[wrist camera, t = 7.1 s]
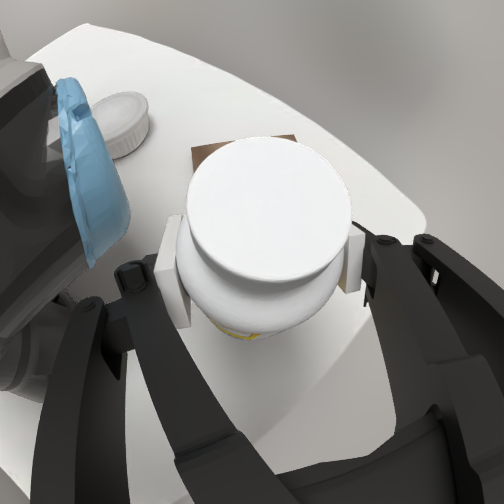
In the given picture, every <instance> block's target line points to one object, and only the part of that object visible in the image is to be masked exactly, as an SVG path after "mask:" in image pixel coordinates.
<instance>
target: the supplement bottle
mask: <svg viewBox="0 0 504 504" xmlns="http://www.w3.org/2000/svg"><path fill="white" fill-rule="evenodd" d="M351 225H352V204H351V199H350V195H349V192H348V190H347V187H346V185H345V183H344V181H343V180H342V178H341V177H340V175H339V174H338V172H337V171H336V170H335V169H334V167H333V166H332V165H331V164H330V163H329V162H328V161H327V160H326V159H325V158H323V157H322V156H321V155H320V154H318V153H317V152H315V151H314V150H312V149H310V148H308V147H306V146H304V145H302V144H300V143H297V142H294V141H291V140H288V139H283V138H277V137H269V136H259V137H249V138H244V139H240V140H236V141H234V142H231V143H229V144H226V145H225V146H223V147H221V148H219V149H217V150H216V151H215V152H213V153H212V154H210V155H209V156H208V157H207V158H206V159H205V160H204V161H203V162H202V163H201V164H200V166H199V167H198V168H197V170H196V171H195V173H194V175H193V177H192V179H191V181H190V184H189V187H188V191H187V196H186V213H185V214H184V216H183V218H182V221H181V223H180V226H179V230H178V233H177V239H176V261H177V267H178V272H179V275H180V278H181V281H182V283H183V285H184V287H185V289H186V291H187V292H188V294H189V296H190V297H191V298H192V300H193V301H194V302H195V304H196V305H197V306H198V307H199V308H200V309H201V310H202V311H203V313H204V314H205V315H206V316H207V317H208V318H209V320H210V321H211V322H212V323H213V324H214V325H215V326H216V327H217V328H218V329H220V330H221V331H222V332H224V333H226V334H228V335H230V336H232V337H234V338H238V339H242V340H259V339H264V338H267V337H270V336H273V335H275V334H277V333H279V332H282V331H284V330H286V329H289V328H292V327H294V326H297V325H299V324H301V323H302V322H304V321H306V320H307V319H309V318H310V317H312V316H313V315H314V314H316V313H317V312H318V311H319V310H320V309H321V308H322V307H323V306H324V305H325V303H326V302H327V301H328V300H329V298H330V297H331V295H332V294H333V292H334V290H335V288H336V286H337V284H338V281H339V279H340V276H341V272H342V267H343V261H344V245H345V243H346V241H347V239H348V236H349V233H350V229H351Z"/></svg>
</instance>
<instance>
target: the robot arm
mask: <svg viewBox="0 0 504 504" xmlns="http://www.w3.org/2000/svg"><path fill="white" fill-rule="evenodd" d="M182 218H183V217H182V214H178V215H173V216H169V218H168V221H167V225H166V228H165V231H164V235H163V238H162V242H161V245H160V249H159V253H157V254H152V255H146V256H145V257H144V258H143V259H142V260H135V261H131V262H128V263H125V264H123V265H121V266H120V267H118V268H117V269H116V270H115V272H114V276H115V279H116V282H117V284H118V287H119V290H120V292H121V295H122V298H121V299H119V300H117V301H114V302H112V303H109V304H106V305H105V304H104V302H103V300H102V299H101V298H100V297H97V296H95V297H89V298H85V299H84V300H81V301H80V302H79V303H78V304H77V305H76V304H75V302H74V301H73V300H72V298H71V297H70V296H69V295H68V294H67V293H66V292H64V291H63V290H64V289H65V288H66V287H67V286H68V285H69V284H70V283H71V282H73V281H74V280H75V279H76V278H77V277H78V276H79V275H80V274H82V273H83V272H84V271H85V270H86V269H87V268H89V269H92V268H93V267H94V266H95V263H96V260H97V259H98V258H100V257H101V256H102V255H103V254H104V253H105V252H106V251H107V250H108V249H109V248H111V247H112V246H113V245H114V244H115V243H116V242H117V241H119V240H120V239H121V238H122V237H123V235H124V234H125V233H126V231H127V229H128V225H129V222H130V207H129V203H128V199H127V196H126V193H125V191H124V188H123V186H122V183H121V180H120V178H119V175H118V173H117V170H116V168H115V165H114V163H113V160H112V158H111V155H110V153H109V150H108V148H107V145H106V143H105V141H104V138H103V136H102V133H101V131H100V129H99V126H98V124H97V122H96V120H95V119H94V118H93V116H92V112H91V109H90V107H89V105H88V102H87V99H86V96H85V93H84V91H83V89H82V87H81V85H80V83H79V82H78V81H77V80H76V79H75V78H72V77H69V78H66V79H59V80H58V81H57V82H56V85H55V86H53V84H52V83H51V81H50V79H49V77H48V75H47V73H46V71H45V69H44V66H43V64H41V63H34V62H26V61H18V60H15V59H13V58H11V55H10V53H9V51H8V49H7V46H6V44H5V41H4V39H3V36H2V34H1V31H0V391H9V392H12V393H14V394H17V395H19V396H22V397H24V398H27V399H29V400H32V401H35V402H39V403H43V407H42V411H41V416H40V421H39V426H38V431H37V437H36V443H35V450H34V457H33V466H32V477H31V492H30V504H130V498H129V489H128V478H127V465H126V445H125V391H126V370H127V355H128V354H127V351H130V350H133V349H135V350H136V354H137V357H138V360H139V364H140V367H141V370H142V373H143V376H144V379H145V382H146V385H147V388H148V391H149V393H150V396H151V399H152V402H153V404H154V407H155V409H156V412H157V415H158V417H159V420H160V422H161V424H162V427H163V429H164V432H165V434H166V436H167V439H168V441H169V443H170V445H171V447H172V450H173V452H174V455H175V459H174V462H175V466H176V468H177V471H178V473H179V475H180V477H181V479H182V481H183V483H184V485H185V487H186V489H187V490H188V492H189V494H190V496H191V497H192V499H193V501H194V503H195V504H504V290H503V289H502V288H501V287H500V286H498V285H497V284H496V283H495V282H494V281H492V280H491V279H490V278H489V277H487V276H486V275H485V274H484V273H483V272H481V271H480V270H479V269H478V268H476V267H475V266H474V265H472V264H471V263H470V262H469V261H468V260H466V259H465V258H464V257H462V256H461V255H460V254H458V253H457V252H456V251H454V250H453V249H451V248H450V247H449V246H447V245H446V244H444V243H443V242H441V241H440V240H439V239H437V238H435V237H434V236H431V235H429V234H419V235H416V236H415V237H414V240H413V245H402V244H401V243H400V241H399V240H398V239H396V238H395V237H392V236H388V235H374V234H373V233H371V232H370V231H368V230H366V228H364V227H362V226H361V225H360V224H358V223H357V222H354V221H352V225H351V229H350V233H349V236H348V239H347V241H346V243H345V245H344V261H343V267H342V272H341V276H340V279H339V281H338V286H339V287H340V288H341V289H342V290H343V292H344V293H345V294H348V293H351V292H355V291H359V290H360V288H361V279H363V280H364V281H365V282H366V290H365V298H364V307H366V303H367V302H368V303H369V307H370V309H371V313H372V316H373V319H374V323H375V326H376V330H377V334H378V337H379V341H380V345H381V348H382V353H383V357H384V361H385V365H386V369H387V373H388V378H389V382H390V387H391V392H392V397H393V402H394V407H395V413H396V427H395V432H394V435H393V436H392V437H391V438H390V439H389V440H387V441H386V442H385V443H384V444H382V445H381V446H380V447H379V448H377V449H376V450H375V451H374V452H372V453H371V454H369V455H367V456H364V457H358V458H352V459H346V460H339V461H331V462H322V463H318V464H314V465H311V466H308V467H304V468H301V469H297V470H293V471H289V472H286V473H282V474H277V475H275V474H274V473H273V472H272V470H271V469H270V468H269V467H268V466H267V464H266V463H265V461H264V460H263V459H262V458H261V456H260V455H259V454H258V452H257V451H256V450H255V448H254V447H253V446H252V444H251V443H250V442H249V440H248V439H247V438H246V436H245V435H244V434H243V433H242V432H241V431H238V430H237V429H236V428H235V426H234V425H233V424H232V422H231V421H230V419H229V418H228V416H227V415H226V413H225V411H224V410H223V408H222V407H221V405H220V404H219V402H218V401H217V399H216V397H215V396H214V394H213V393H212V391H211V389H210V388H209V386H208V385H207V383H206V381H205V380H204V378H203V376H202V375H201V373H200V371H199V369H198V368H197V366H196V364H195V362H194V361H193V359H192V357H191V355H190V354H189V352H188V350H187V348H186V346H185V345H184V343H183V341H182V339H181V337H180V335H179V333H178V332H177V330H176V329H180V328H187V327H191V313H190V296H189V294H188V292H187V291H186V289H185V287H184V285H183V283H182V281H181V278H180V275H179V272H178V267H177V261H176V239H177V233H178V230H179V226H180V223H181V221H182ZM435 270H436V271H437V272H438V273H439V276H438V280H437V283H436V284H434V283H433V282H432V280H433V276H434V272H435Z"/></svg>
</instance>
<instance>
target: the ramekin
mask: <svg viewBox="0 0 504 504" xmlns="http://www.w3.org/2000/svg"><path fill="white" fill-rule="evenodd" d="M90 109H91V112H92V116H93V118H94V119H95V120H96V122H97V124H98V126H99V129H100V131H101V133H102V136H103V138H104V141H105V143H106V145H107V148H108V150H109V153H110V155H111V158H112V159H116V158H120V157H123V156H125V155H127V154H129V153H130V152H132V151H133V150H135V149H136V148H137V147H138V146H139V145H140V144H141V143H142V142H143V140H144V139H145V137H146V135H147V133H148V129H149V120H148V102H147V99H146V98H145V97H144V96H143V95H142V94H140V93H138V92H121V93H117V94H114V95H111V96H109V97H106V98H104V99H103V100H101V101H99V102H98V103H96V104H95V105H94V106H92V107H91V108H90Z"/></svg>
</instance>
